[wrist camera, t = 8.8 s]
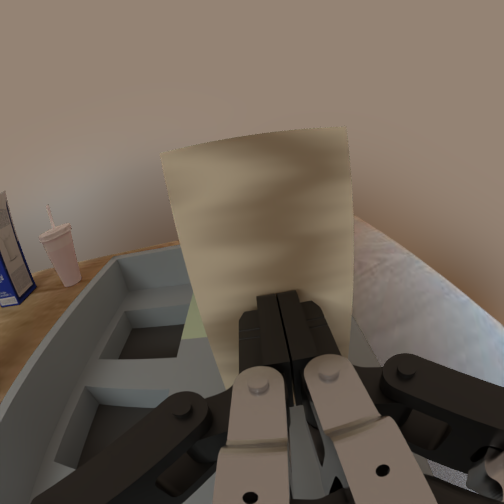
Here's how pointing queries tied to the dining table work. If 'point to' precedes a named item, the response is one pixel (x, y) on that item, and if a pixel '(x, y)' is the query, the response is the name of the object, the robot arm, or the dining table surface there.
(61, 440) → the trap deck
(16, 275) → the milk carton
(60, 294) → the dining table surface
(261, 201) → the maple block
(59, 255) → the smoothie
